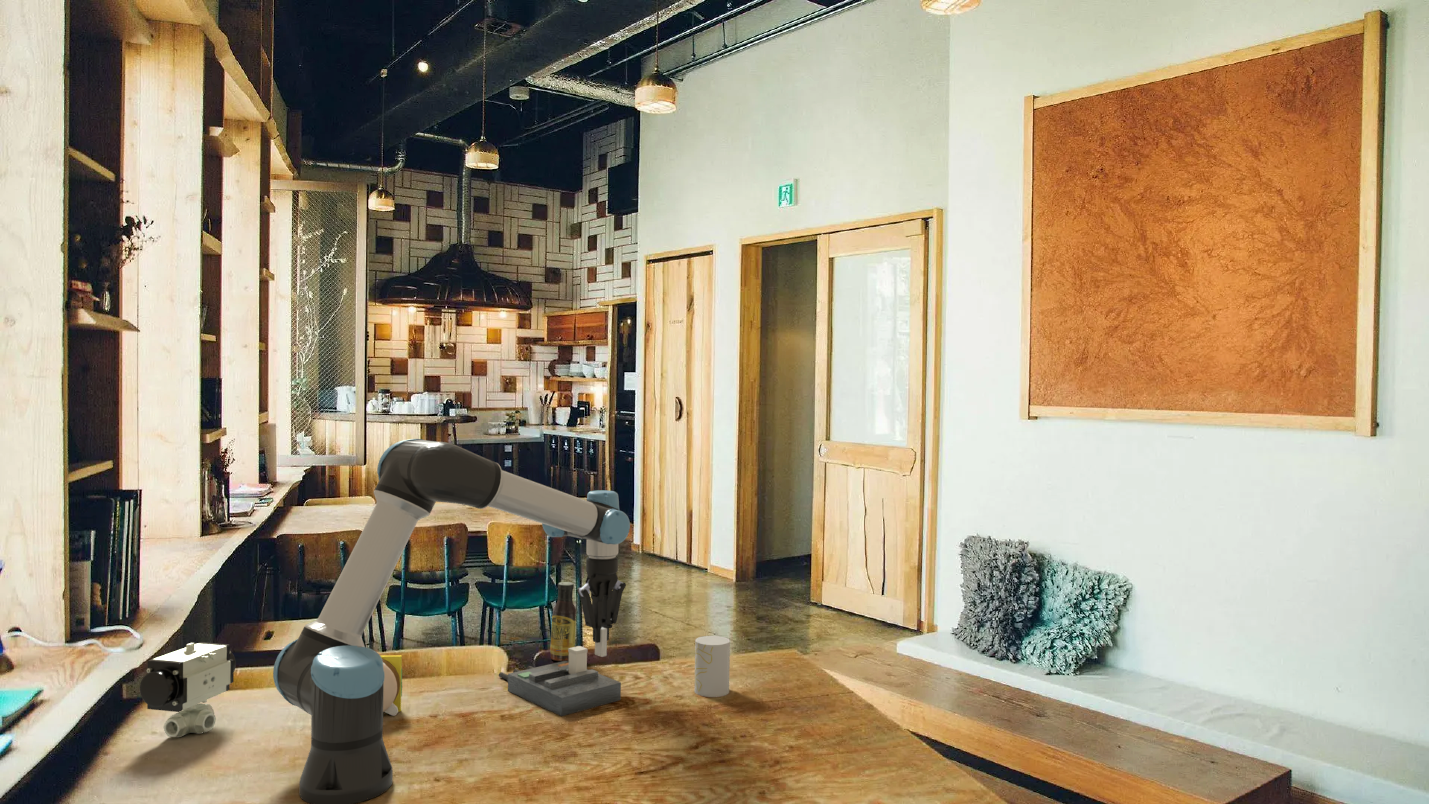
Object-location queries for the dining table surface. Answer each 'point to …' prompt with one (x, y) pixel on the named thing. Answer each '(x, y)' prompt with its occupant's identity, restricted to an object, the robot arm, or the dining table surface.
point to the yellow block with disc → (392, 684)
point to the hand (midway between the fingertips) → (600, 655)
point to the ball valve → (188, 685)
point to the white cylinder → (712, 666)
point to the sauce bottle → (563, 623)
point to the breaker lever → (577, 659)
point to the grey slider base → (563, 688)
